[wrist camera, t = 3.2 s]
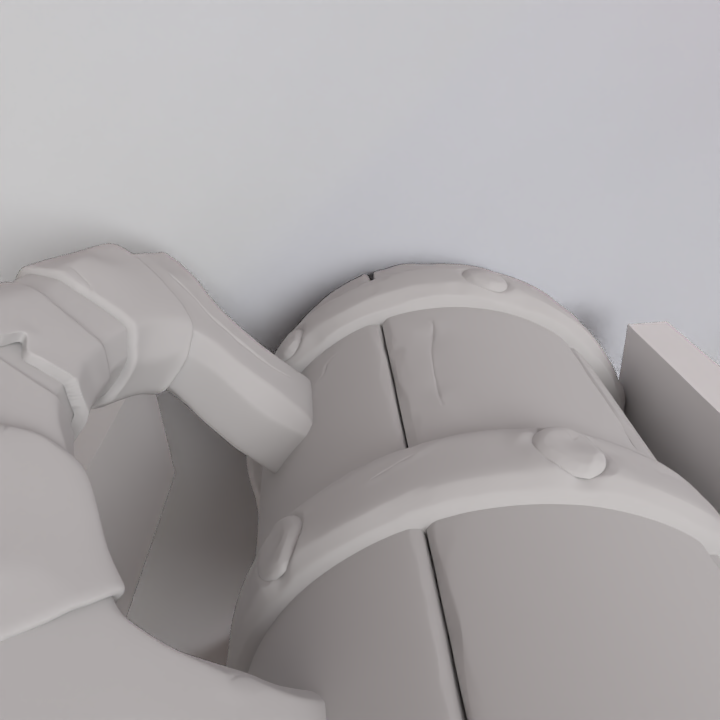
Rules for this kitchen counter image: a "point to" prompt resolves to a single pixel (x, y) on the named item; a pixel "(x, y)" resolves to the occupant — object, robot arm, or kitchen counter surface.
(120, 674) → the mug
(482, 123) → the kitchen counter surface
